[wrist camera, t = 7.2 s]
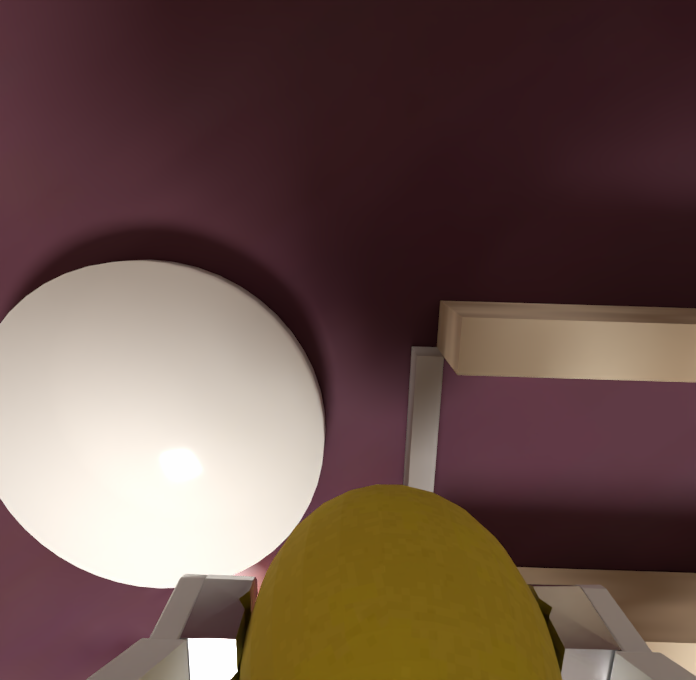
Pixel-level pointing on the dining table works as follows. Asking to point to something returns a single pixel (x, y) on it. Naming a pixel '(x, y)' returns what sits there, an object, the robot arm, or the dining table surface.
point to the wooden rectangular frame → (577, 363)
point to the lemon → (395, 598)
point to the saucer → (155, 422)
